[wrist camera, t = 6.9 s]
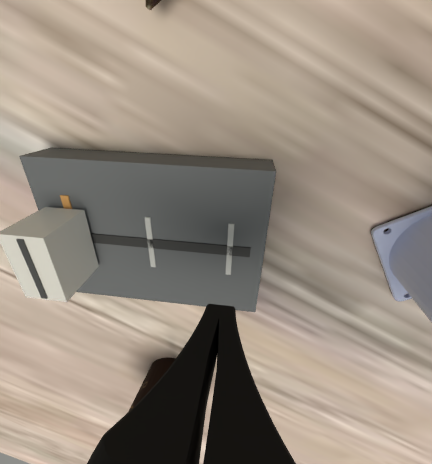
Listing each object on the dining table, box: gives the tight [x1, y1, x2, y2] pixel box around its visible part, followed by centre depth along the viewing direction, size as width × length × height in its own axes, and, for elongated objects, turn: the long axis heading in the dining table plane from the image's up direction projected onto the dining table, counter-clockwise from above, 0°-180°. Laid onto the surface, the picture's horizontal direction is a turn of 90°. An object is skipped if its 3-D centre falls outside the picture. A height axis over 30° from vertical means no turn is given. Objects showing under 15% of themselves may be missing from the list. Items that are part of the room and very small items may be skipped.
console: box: [19, 148, 276, 312], centre depth 20 cm, size 17×12×3 cm
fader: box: [0, 207, 99, 302], centre depth 17 cm, size 3×5×4 cm, turn 179°
